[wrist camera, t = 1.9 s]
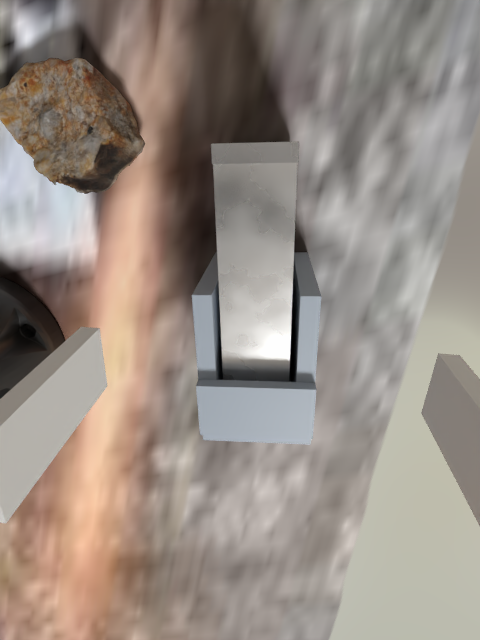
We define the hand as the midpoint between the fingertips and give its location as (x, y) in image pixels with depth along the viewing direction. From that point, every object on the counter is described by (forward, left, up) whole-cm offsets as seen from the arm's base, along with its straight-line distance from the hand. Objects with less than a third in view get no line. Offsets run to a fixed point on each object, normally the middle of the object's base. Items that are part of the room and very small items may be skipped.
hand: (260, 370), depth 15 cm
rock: (-17, +4, -19) cm, 26 cm away
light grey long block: (0, -1, -19) cm, 19 cm away
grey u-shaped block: (+1, -5, -19) cm, 19 cm away
